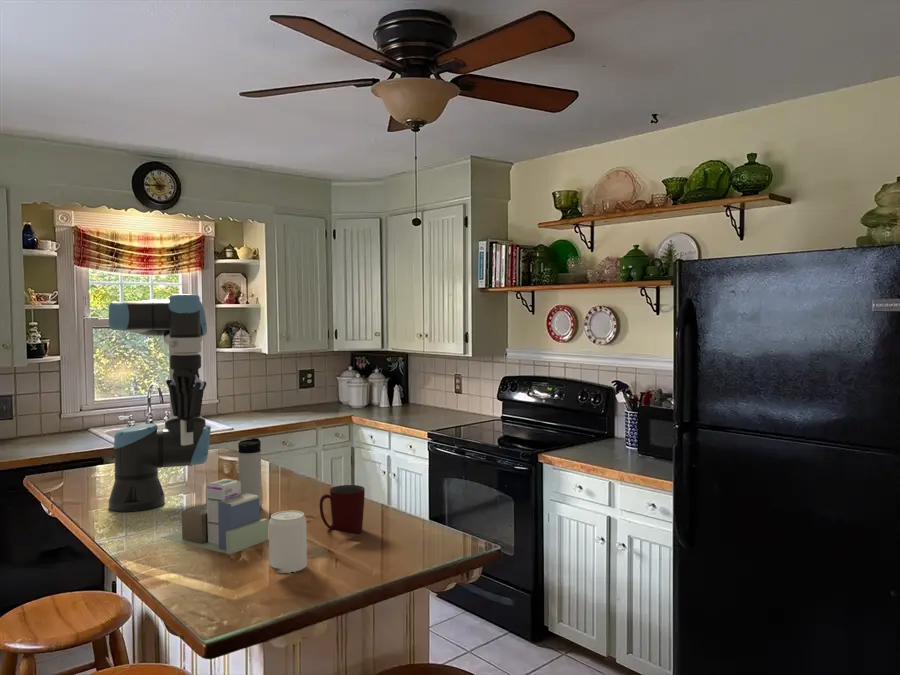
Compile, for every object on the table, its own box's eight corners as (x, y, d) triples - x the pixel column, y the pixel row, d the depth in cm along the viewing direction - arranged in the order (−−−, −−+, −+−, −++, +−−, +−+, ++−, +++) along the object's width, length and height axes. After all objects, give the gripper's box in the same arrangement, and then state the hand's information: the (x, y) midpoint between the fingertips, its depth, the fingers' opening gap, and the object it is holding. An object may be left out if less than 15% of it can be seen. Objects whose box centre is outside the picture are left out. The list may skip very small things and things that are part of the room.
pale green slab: (161, 543, 173) (160, 517, 173) (201, 530, 183) (200, 505, 183) (230, 560, 161) (229, 532, 160) (268, 545, 171) (268, 519, 171)
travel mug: (266, 506, 205) (265, 438, 205) (253, 512, 199) (252, 442, 198) (248, 504, 207) (247, 437, 207) (234, 510, 201) (233, 441, 200)
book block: (218, 548, 164) (218, 501, 164) (247, 537, 172) (246, 493, 172) (231, 551, 162) (230, 504, 162) (259, 540, 170) (259, 495, 170)
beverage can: (272, 562, 159) (271, 510, 159) (308, 561, 160) (308, 509, 160) (266, 576, 151) (265, 520, 151) (304, 574, 152) (303, 519, 151)
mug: (328, 541, 174) (327, 497, 174) (313, 532, 181) (312, 489, 181) (371, 532, 181) (370, 490, 180) (355, 524, 188) (354, 483, 188)
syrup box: (225, 546, 166) (224, 485, 165) (206, 542, 169) (205, 482, 168) (242, 539, 171) (241, 480, 170) (224, 535, 174) (223, 477, 173)
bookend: (182, 539, 171) (181, 510, 171) (211, 529, 179) (211, 501, 179) (201, 543, 168) (201, 514, 167) (231, 533, 175) (230, 505, 175)
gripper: (156, 353, 182) (158, 444, 183) (190, 355, 175) (191, 449, 176) (181, 352, 188) (182, 439, 189) (214, 353, 182) (215, 444, 183)
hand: (187, 444), depth 183 cm, fingers closed
